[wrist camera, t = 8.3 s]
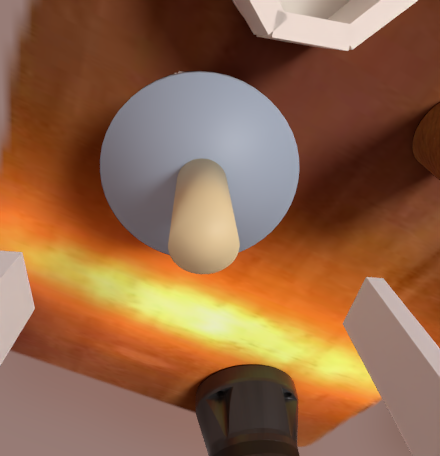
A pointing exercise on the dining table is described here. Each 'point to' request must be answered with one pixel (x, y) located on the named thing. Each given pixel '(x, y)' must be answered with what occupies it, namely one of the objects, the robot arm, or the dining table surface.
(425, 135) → the disposable coffee cup
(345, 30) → the bowl
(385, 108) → the dining table surface
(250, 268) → the dining table surface
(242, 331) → the dining table surface
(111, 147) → the lid
